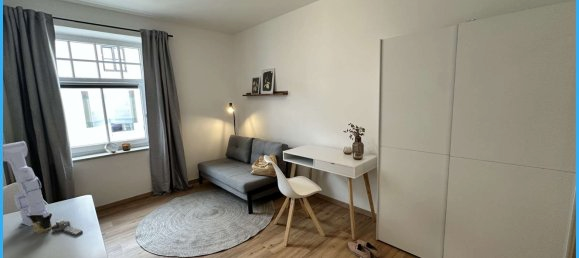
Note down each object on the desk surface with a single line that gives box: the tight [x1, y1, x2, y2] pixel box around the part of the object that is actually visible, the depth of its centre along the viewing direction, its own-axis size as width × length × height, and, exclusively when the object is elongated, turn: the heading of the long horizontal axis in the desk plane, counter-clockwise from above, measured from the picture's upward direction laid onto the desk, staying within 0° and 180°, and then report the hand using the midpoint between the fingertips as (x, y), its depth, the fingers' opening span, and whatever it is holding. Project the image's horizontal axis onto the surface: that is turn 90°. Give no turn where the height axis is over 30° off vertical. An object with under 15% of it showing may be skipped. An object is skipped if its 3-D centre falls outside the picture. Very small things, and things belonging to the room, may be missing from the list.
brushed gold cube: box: [32, 220, 53, 234], centre depth 131 cm, size 5×5×5 cm
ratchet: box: [51, 218, 84, 237], centre depth 130 cm, size 19×7×4 cm, turn 67°
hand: (42, 226), depth 132 cm, fingers open, 7 cm apart
